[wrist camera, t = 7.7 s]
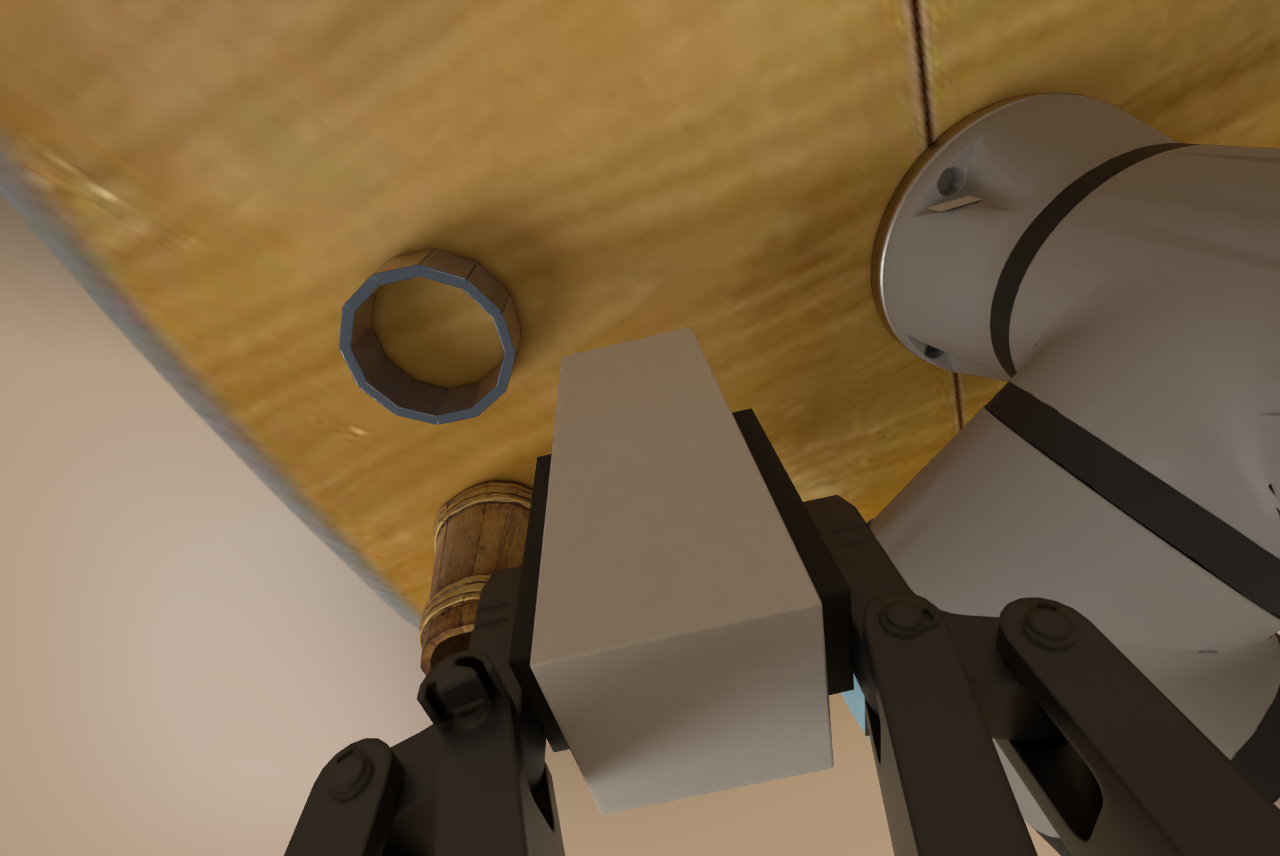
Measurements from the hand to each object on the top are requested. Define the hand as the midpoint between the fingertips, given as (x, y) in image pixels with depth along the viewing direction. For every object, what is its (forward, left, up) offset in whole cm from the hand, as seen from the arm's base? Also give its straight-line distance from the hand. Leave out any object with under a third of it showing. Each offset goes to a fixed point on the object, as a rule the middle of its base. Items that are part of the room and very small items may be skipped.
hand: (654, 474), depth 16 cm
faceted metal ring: (+10, +1, -20) cm, 22 cm away
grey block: (0, 0, -5) cm, 5 cm away
